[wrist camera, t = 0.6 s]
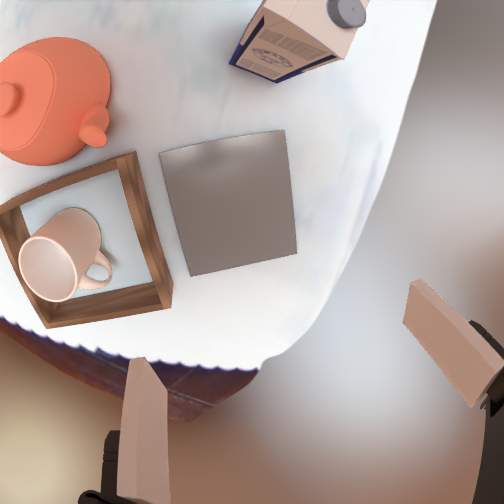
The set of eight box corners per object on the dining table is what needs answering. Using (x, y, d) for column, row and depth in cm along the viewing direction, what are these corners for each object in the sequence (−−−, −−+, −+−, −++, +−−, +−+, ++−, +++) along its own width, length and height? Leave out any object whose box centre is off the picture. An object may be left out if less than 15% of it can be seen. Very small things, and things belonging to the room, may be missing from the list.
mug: (108, 281, 39) (89, 327, 30) (46, 242, 34) (13, 278, 25) (132, 238, 37) (113, 278, 27) (64, 195, 32) (27, 222, 23)
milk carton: (249, 22, 27) (302, -56, 9) (296, 42, 29) (384, -9, 11) (227, 65, 29) (263, 6, 11) (276, 84, 31) (358, 56, 14)
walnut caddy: (12, 198, 30) (-9, 211, 24) (135, 151, 32) (124, 157, 27) (58, 306, 39) (46, 329, 34) (173, 283, 41) (171, 307, 36)
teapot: (169, 79, 29) (154, 56, 17) (109, 193, 34) (71, 231, 22) (34, 29, 19) (-17, 10, 7) (-11, 132, 24) (-68, 147, 12)
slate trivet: (159, 152, 33) (158, 153, 32) (282, 129, 34) (284, 130, 33) (190, 274, 41) (190, 276, 40) (295, 251, 43) (297, 253, 42)
